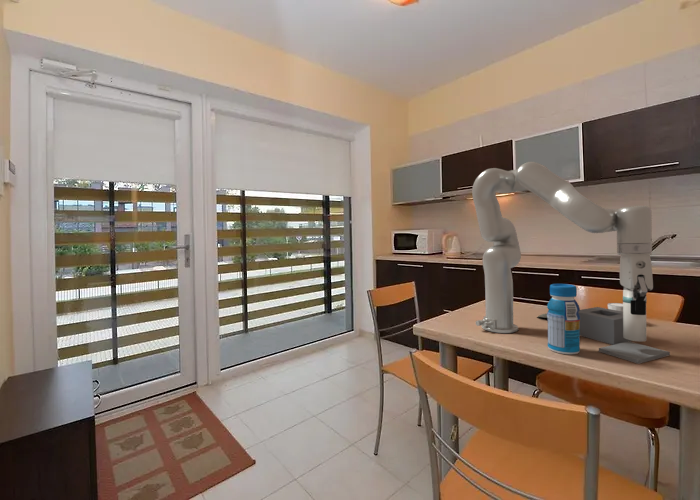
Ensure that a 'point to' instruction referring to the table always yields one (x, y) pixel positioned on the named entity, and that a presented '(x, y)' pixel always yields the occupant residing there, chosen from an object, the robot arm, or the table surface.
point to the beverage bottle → (563, 319)
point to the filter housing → (602, 325)
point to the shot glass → (615, 306)
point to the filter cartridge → (632, 320)
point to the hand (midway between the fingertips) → (634, 311)
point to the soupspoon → (543, 315)
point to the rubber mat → (634, 352)
